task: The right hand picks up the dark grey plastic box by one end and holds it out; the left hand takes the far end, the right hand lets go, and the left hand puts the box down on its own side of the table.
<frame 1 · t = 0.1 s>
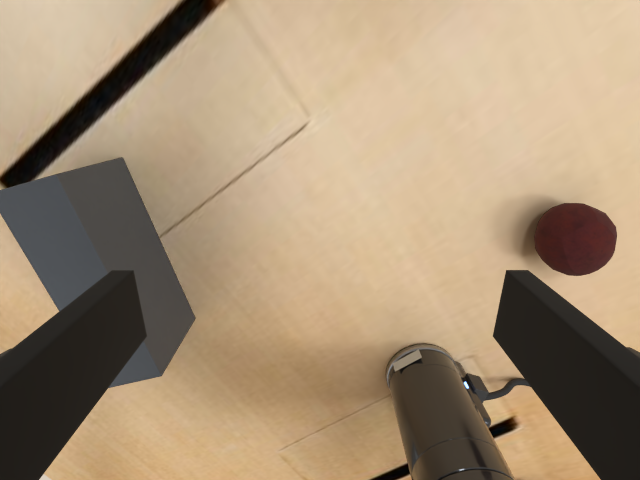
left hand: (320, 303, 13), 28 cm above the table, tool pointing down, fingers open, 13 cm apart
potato: (552, 227, 41), on the table
box: (138, 250, 42), on the table
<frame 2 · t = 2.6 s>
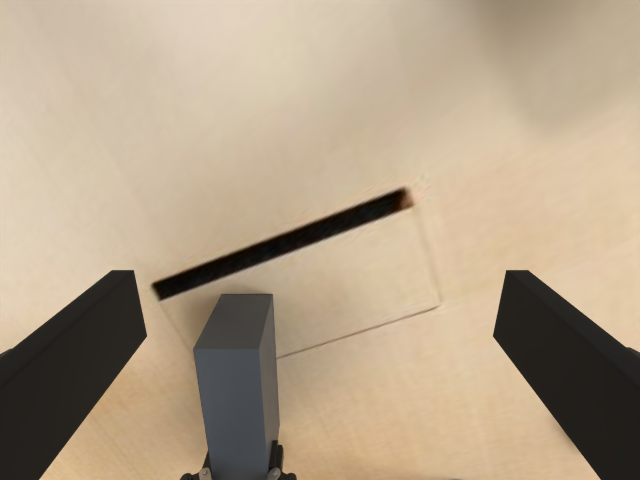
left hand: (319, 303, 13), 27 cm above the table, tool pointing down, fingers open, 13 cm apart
box: (252, 364, 47), on the table, touching right hand
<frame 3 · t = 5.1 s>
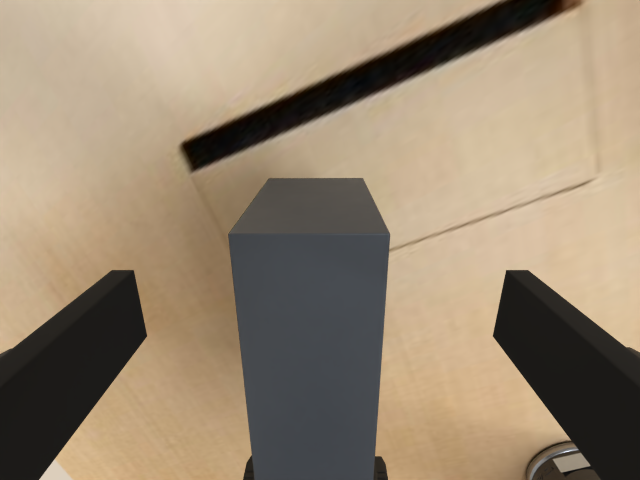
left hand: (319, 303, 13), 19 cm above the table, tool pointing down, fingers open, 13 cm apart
box: (317, 315, 27), point 7 cm above the table, touching right hand
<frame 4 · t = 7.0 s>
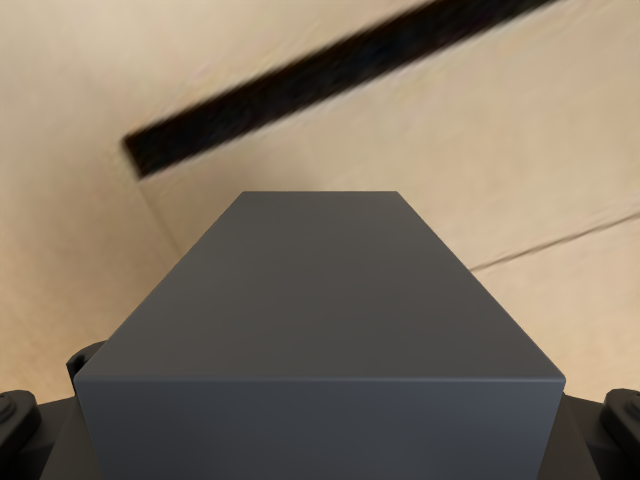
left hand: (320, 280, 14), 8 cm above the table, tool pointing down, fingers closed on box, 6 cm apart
box: (320, 397, 18), point 7 cm above the table, touching left hand, right hand
when the right hand's fingers open (13 cm above the table, at t = 7.9 s): box moves 1 cm, held by the left hand.
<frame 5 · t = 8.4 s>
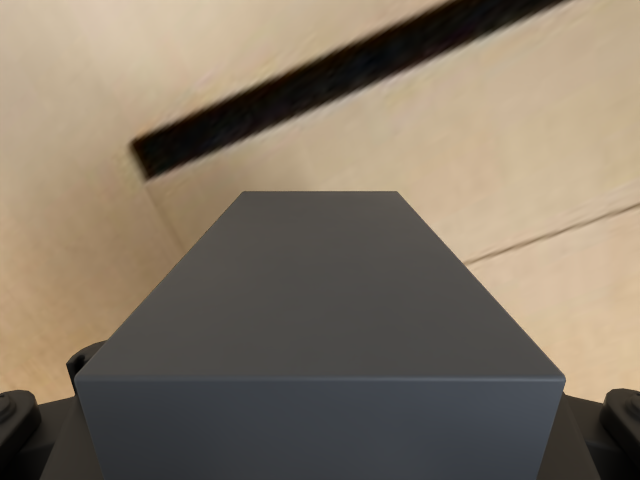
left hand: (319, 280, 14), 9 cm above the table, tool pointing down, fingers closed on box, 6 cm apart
box: (320, 397, 18), point 8 cm above the table, touching left hand
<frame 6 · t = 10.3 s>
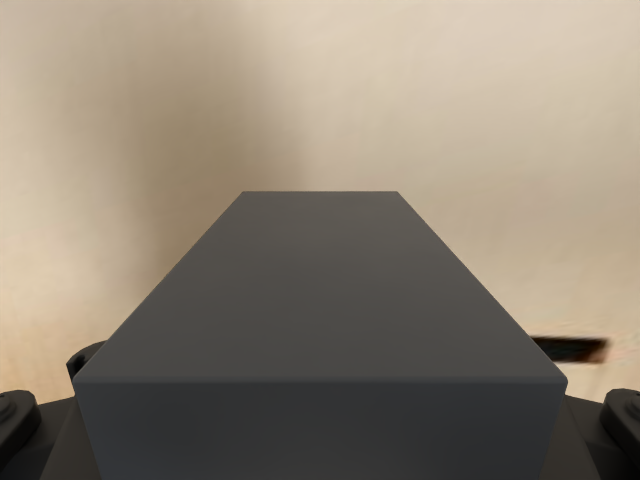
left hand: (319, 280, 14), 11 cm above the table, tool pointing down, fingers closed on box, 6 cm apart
box: (320, 397, 18), point 10 cm above the table, touching left hand
when the left hand's fingers open (3 cm above the table, at t = 11.5 s): box drops 2 cm, on the table.
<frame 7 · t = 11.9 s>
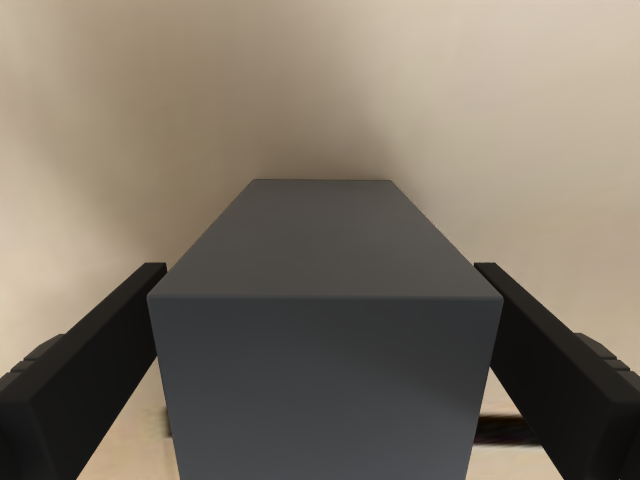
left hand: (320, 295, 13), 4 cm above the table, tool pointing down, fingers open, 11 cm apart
box: (320, 370, 20), on the table
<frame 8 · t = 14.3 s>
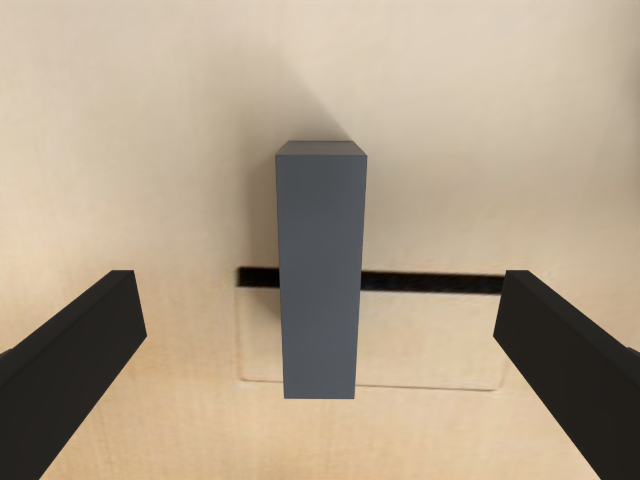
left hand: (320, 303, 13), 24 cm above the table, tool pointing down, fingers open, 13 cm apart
box: (320, 244, 37), on the table
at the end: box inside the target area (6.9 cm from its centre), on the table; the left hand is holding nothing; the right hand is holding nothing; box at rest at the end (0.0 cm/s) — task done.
